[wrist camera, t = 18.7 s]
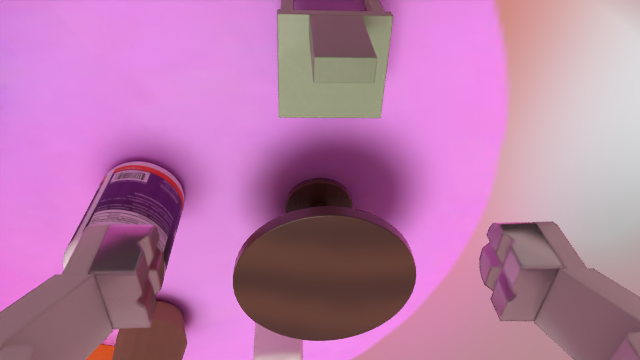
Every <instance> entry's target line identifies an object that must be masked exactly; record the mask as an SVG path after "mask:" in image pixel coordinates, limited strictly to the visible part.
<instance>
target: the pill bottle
mask: <svg viewBox="0 0 640 360" xmlns="http://www.w3.org/2000/svg"><path fill="white" fill-rule="evenodd" d="M183 206H184V193H183V189H182V187H181V185H180V183H179V182H178V180H177V179H176V178H175V177H174V176H173V175H172V174H171V173H170V172H168V171H167V170H165V169H163V168H162V167H160V166H157V165H155V164H152V163H148V162H140V161H134V162H127V163H124V164H121V165H118V166H116V167H115V168H113V169H112V170H110V171H109V172H108V173H107V174H106V176H105V177H104V179H103V181H102V182H101V184H100V186H99V188H98V190H97V192H96V194H95V196H94V198H93V200H92V202H91V203H90V205H89V207H88V209H87V211H86V213H85V215H84V217H83V219H82V221H81V222H80V224H79V226H78V228H77V230H76V232H75V234H74V236H73V237H72V239H71V241H70V243H69V245H68V247H67V249H66V251H65V253H64V257H63V269H65V267H66V265H67V263H68V261H69V259H70V257H71V255H72V253H73V251H74V249H75V247H76V245H77V243H78V241H79V239H80V238H81V236H82V234H83V232H84V230H85V228H86V227H87V226H89V225H90V224H111V225H112V224H144V225H155V226H157V228H158V232H159V236H160V238H159V241H158V245H157V246H158V247H159V248H160V249H161V250H162V251H163V255H164V265H165V270H164V275H165V271H166V268H167V264H168V260H169V257H170V253H171V249H172V246H173V242H174V239H175V235H176V232H177V228H178V224H179V221H180V217H181V214H182V210H183Z"/></svg>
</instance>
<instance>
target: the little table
mask: <svg viewBox="0 0 640 360" xmlns="http://www.w3.org/2000/svg"><path fill="white" fill-rule="evenodd" d="M415 280H416V266H415V263H414V259H413V255H412V252H411V249H410V247H409V245H408V243H407V241H406V240H405V238H404V237H403V236H402V234H401V233H400V232H399V231H398V230H397V229H396V228H394V227H393V226H392V225H390V224H389V223H388V222H386V221H385V220H383V219H381V218H379V217H377V216H375V215H372V214H370V213H367V212H364V211H361V210H357V209H352V200H351V196H350V194H349V192H348V191H347V189H346V188H345V187H344V186H343V185H341V184H340V183H338V182H336V181H334V180H330V179H325V178H315V179H310V180H306V181H304V182H302V183H300V184H298V185H297V186H296V187H294V188H293V189H292V191H291V192H290V193H289V195H288V197H287V200H286V214H284V215H282V216H279V217H277V218H275V219H273V220H271V221H269V222H268V223H266V224H265V225H263V226H262V227H260V228H259V229H258V230H257V231H255V232H254V233H253V234H252V235H251V236H250V237H249V238H248V239H247V241H246V242H245V243H244V244H243V246H242V248H241V249H240V251H239V253H238V256H237V258H236V261H235V267H234V274H233V288H234V293H235V296H236V299H237V301H238V303H239V305H240V306H241V308H242V309H243V310H244V312H245V313H246V314H247V315H248V316H249V317H250V318H251V319H252V320H253V321H255V322H256V323H258V324H259V325H261V326H262V327H264V328H266V329H268V330H270V331H272V332H274V333H277V334H280V335H283V336H286V337H290V338H295V339H300V340H310V341H326V340H337V339H343V338H348V337H352V336H356V335H359V334H362V333H365V332H367V331H370V330H372V329H374V328H376V327H378V326H380V325H382V324H383V323H385V322H386V321H388V320H389V319H391V318H392V317H393V316H394V315H395V314H397V313H398V312H399V311H400V310H401V308H402V307H403V306H404V305H405V304H406V302H407V301H408V299H409V297H410V296H411V294H412V291H413V288H414V285H415Z"/></svg>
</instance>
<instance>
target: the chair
mask: <svg viewBox="0 0 640 360" xmlns="http://www.w3.org/2000/svg"><path fill="white" fill-rule="evenodd" d="M364 6H365V8H366V10H367V11H329V10H294V0H282V3H281V10H280V9H278V10H277V38H278V99H279V117H301V118H381V111H382V102H383V94H384V86H385V78H386V70H387V62H388V54H389V46H390V38H391V30H392V22H393V15H392V13H391V12H385V11H384V9H383V7H382V5H381V3H380V1H379V0H364Z"/></svg>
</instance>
